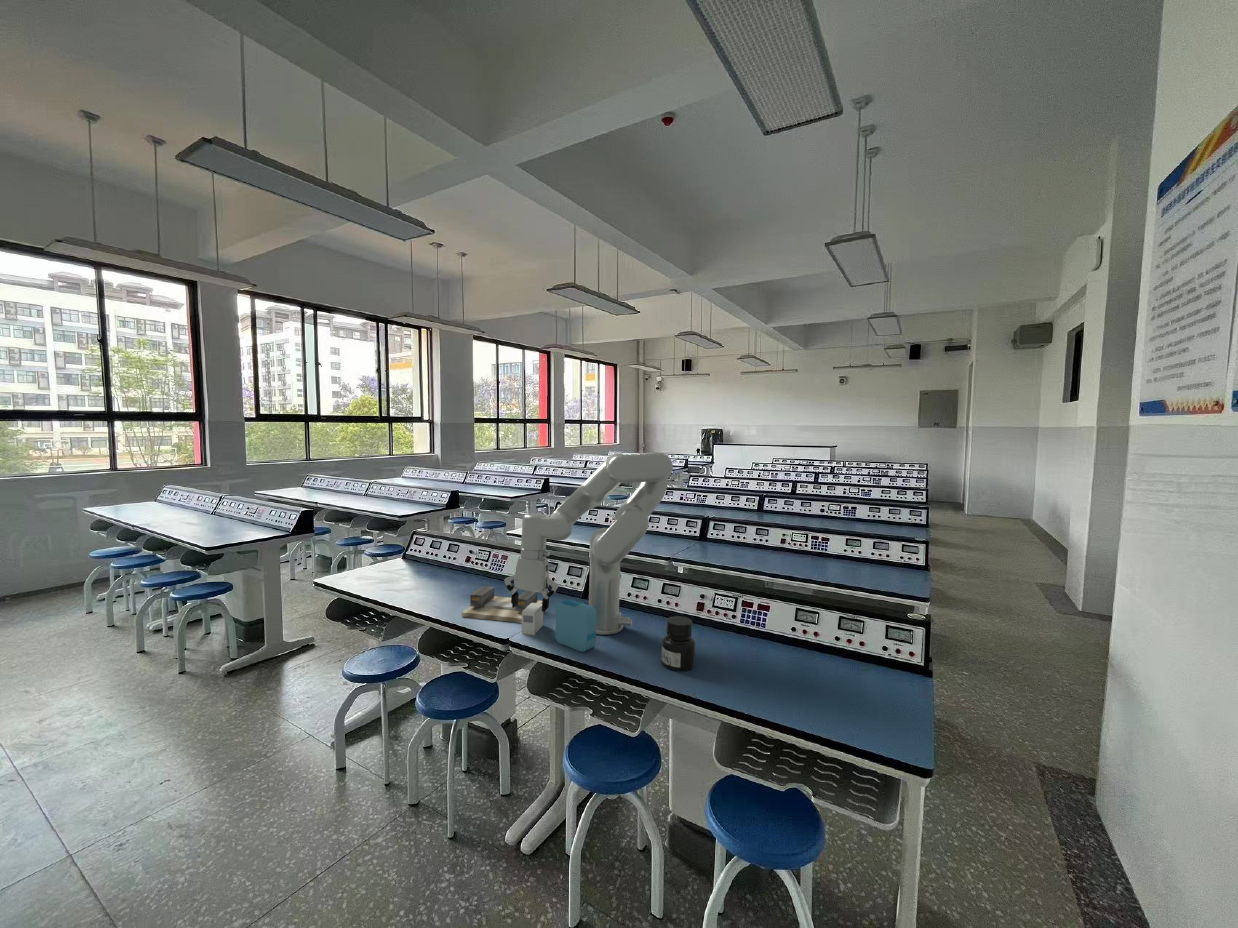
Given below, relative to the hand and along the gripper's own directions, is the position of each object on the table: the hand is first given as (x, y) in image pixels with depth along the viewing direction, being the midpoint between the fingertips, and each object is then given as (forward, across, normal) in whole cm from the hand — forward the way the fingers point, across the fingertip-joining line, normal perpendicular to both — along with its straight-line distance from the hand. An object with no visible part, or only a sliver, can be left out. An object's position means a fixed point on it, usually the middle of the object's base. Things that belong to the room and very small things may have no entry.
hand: (529, 608), depth 156 cm
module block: (+7, -1, 0) cm, 7 cm away
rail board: (+7, +14, -13) cm, 20 cm away
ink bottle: (+5, -47, +13) cm, 49 cm away
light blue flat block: (+6, -17, +8) cm, 20 cm away
